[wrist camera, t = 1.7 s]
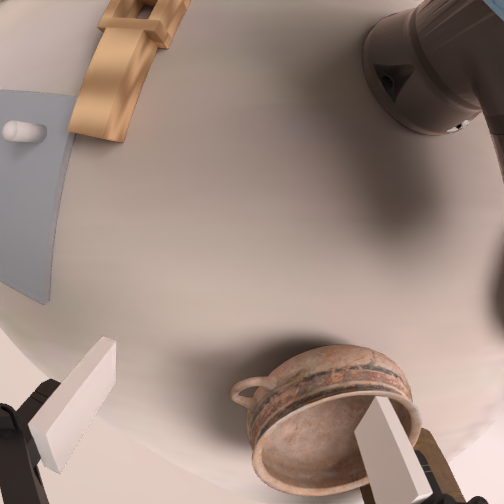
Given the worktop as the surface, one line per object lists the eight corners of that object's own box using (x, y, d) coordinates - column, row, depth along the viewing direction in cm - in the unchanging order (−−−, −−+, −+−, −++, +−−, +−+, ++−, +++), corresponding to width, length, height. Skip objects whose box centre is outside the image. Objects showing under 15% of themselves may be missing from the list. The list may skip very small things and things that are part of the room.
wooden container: (341, 480, 42) (363, 578, 21) (376, 428, 39) (420, 542, 17) (407, 474, 43) (439, 556, 21) (445, 423, 39) (497, 511, 18)
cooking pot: (200, 394, 37) (183, 464, 25) (281, 278, 33) (293, 334, 21) (345, 449, 40) (361, 508, 28) (428, 363, 36) (469, 417, 24)
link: (138, -4, 25) (124, -23, 20) (191, 0, 26) (181, -22, 21) (82, 133, 30) (58, 129, 25) (133, 145, 30) (113, 141, 25)
